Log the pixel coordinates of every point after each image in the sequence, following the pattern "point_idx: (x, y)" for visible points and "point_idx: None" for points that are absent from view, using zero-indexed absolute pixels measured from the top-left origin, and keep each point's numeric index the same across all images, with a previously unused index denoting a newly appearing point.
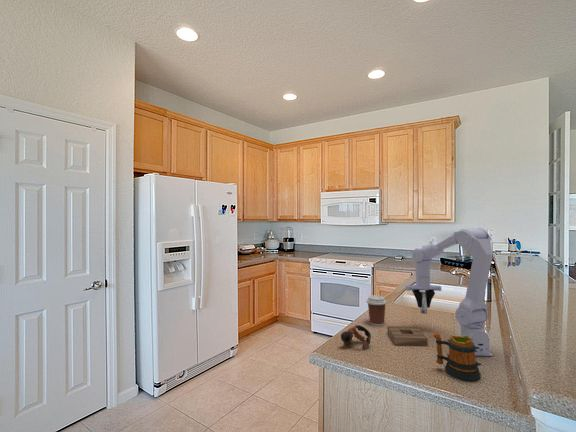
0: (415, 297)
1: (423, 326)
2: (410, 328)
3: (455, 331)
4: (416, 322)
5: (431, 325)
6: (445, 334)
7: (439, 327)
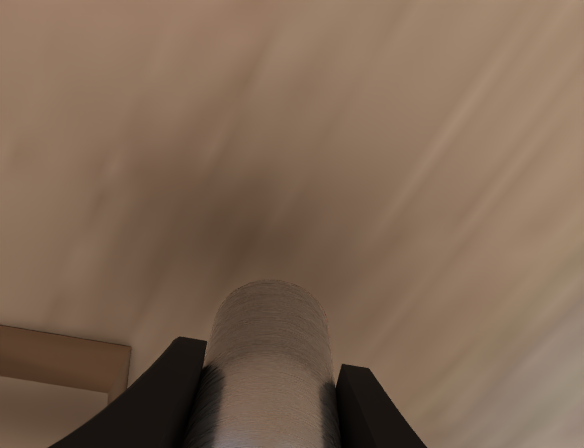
0: (73, 443)
1: (307, 170)
2: (13, 433)
3: (550, 345)
4: (297, 17)
5: (423, 153)
6: (397, 394)
7: (471, 225)
